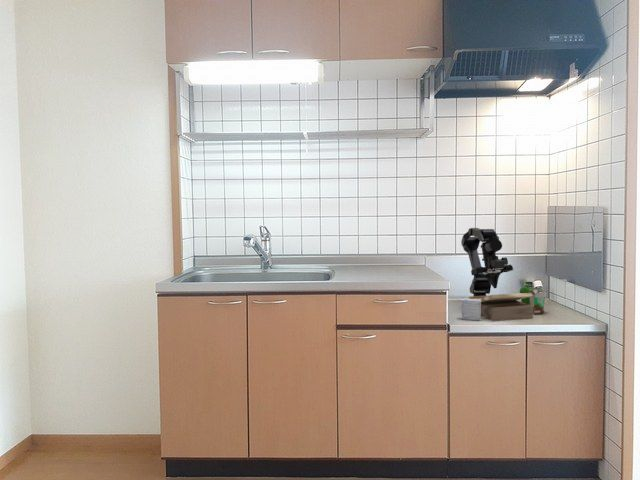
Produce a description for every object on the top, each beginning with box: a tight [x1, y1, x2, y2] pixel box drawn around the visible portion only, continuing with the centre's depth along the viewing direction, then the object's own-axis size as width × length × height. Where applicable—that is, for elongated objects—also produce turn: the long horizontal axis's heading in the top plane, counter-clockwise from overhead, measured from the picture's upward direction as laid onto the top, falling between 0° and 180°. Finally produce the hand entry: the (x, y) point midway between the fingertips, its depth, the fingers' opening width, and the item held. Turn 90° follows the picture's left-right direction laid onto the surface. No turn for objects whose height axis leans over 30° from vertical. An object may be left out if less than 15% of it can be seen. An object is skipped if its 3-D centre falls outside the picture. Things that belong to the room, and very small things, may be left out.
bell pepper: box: [519, 283, 537, 305], centre depth 259 cm, size 8×8×10 cm
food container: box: [529, 288, 548, 315], centre depth 239 cm, size 12×6×10 cm, turn 168°
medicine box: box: [461, 298, 482, 321], centre depth 226 cm, size 8×4×9 cm, turn 71°
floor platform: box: [468, 294, 534, 322], centre depth 235 cm, size 20×20×7 cm
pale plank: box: [480, 292, 532, 303], centre depth 231 cm, size 12×20×2 cm, turn 104°
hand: (495, 288), depth 239 cm, fingers closed
